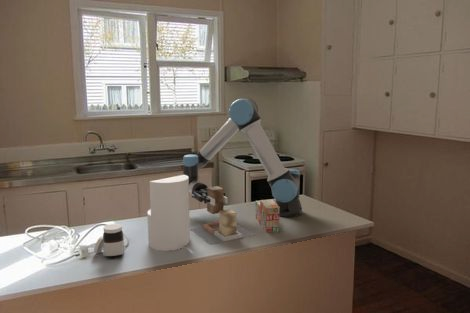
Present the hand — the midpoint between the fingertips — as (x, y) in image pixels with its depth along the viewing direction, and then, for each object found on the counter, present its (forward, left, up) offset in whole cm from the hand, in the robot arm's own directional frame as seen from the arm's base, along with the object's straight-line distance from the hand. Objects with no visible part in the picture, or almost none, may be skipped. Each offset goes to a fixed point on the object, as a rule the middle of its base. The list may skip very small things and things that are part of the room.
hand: (220, 201), depth 176 cm
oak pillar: (0, +6, -14) cm, 15 cm away
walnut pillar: (0, -5, -6) cm, 8 cm away
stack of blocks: (-24, +1, -15) cm, 29 cm away
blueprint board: (0, 0, -15) cm, 15 cm away
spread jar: (+48, -2, -15) cm, 51 cm away
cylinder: (+24, -2, -15) cm, 28 cm away
